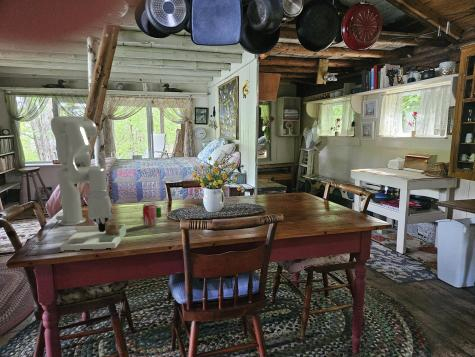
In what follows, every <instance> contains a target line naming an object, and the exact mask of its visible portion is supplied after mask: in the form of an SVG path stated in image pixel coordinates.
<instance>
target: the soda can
mask: <svg viewBox="0 0 475 357" xmlns="http://www.w3.org/2000/svg"><path fill="white" fill-rule="evenodd" d="M156 206H157V205H155V202H146V203H144V204H143V206H142V218H143V220H142V221H143V225H144V226H146V227H154V226H156V225H157V223H158V217H157V214H156Z"/></svg>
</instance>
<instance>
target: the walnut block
mask: <svg viewBox="0 0 475 357" xmlns="http://www.w3.org/2000/svg"><path fill="white" fill-rule="evenodd" d="M119 225H120V221H107V223H106V225H105V230H106V236H107V235H117V234H118V231H119V230H120V227H119Z"/></svg>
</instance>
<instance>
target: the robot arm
mask: <svg viewBox="0 0 475 357" xmlns="http://www.w3.org/2000/svg"><path fill="white" fill-rule="evenodd" d="M50 128H51V131H52V132H51V133H53V136H54V138H55V141H56V142H55V143H56V152H57V153H56V154H57V159H58V163H59V164H60V165H62V166H67V167H63V168H60V169H58V170H57V171H56V173H55V174H56V179H57V183H58V187H59V192H60V200H61V210H62V215H56V216H55V219H56V221H60V225H61V226H77V225H81V224H83V223H85V222H86V219H87V218H85V217H83V210H82V201H81V200H82V199H81V192H80V189H79V188H78V187H77V186H76V184H77V185H78V184H85V183H88V185H89V186H88V187H89V191H86V195H87V196H89V197H88V199H87V217H88V220H89V221H92V222H95V223H96V225H97V226H98V230H99V231H100V232H104V231H105V225H106V224H107V223H106V222H108V221H109V220H113V219H114V216H113V212H114V211H113V205H112V202H111V201H112V200H111V197H110V195H109V193H108V185H107V184H108V183H107V182H108V181H107V172H106V169H105V168H103V167H101V166H98V165H92V163H91V155H90V151H91V149H92V146H91V142H90V138H95V137H96V136H97V135H98V126H97V125H96V123H95V122H94V121H93V120H92V119H89V117H86V116H76V115H75V116H71V115H67V116H66V115H61V116H60V115H59V116H54V117H52V119H51V120H50ZM77 165H80V166H77Z"/></svg>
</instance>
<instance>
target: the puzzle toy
mask: <svg viewBox="0 0 475 357" xmlns="http://www.w3.org/2000/svg"><path fill="white" fill-rule="evenodd" d="M155 206H156V214H157V218H161V217H162V208H161V206H160V205H159V204H158V205H155Z"/></svg>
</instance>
